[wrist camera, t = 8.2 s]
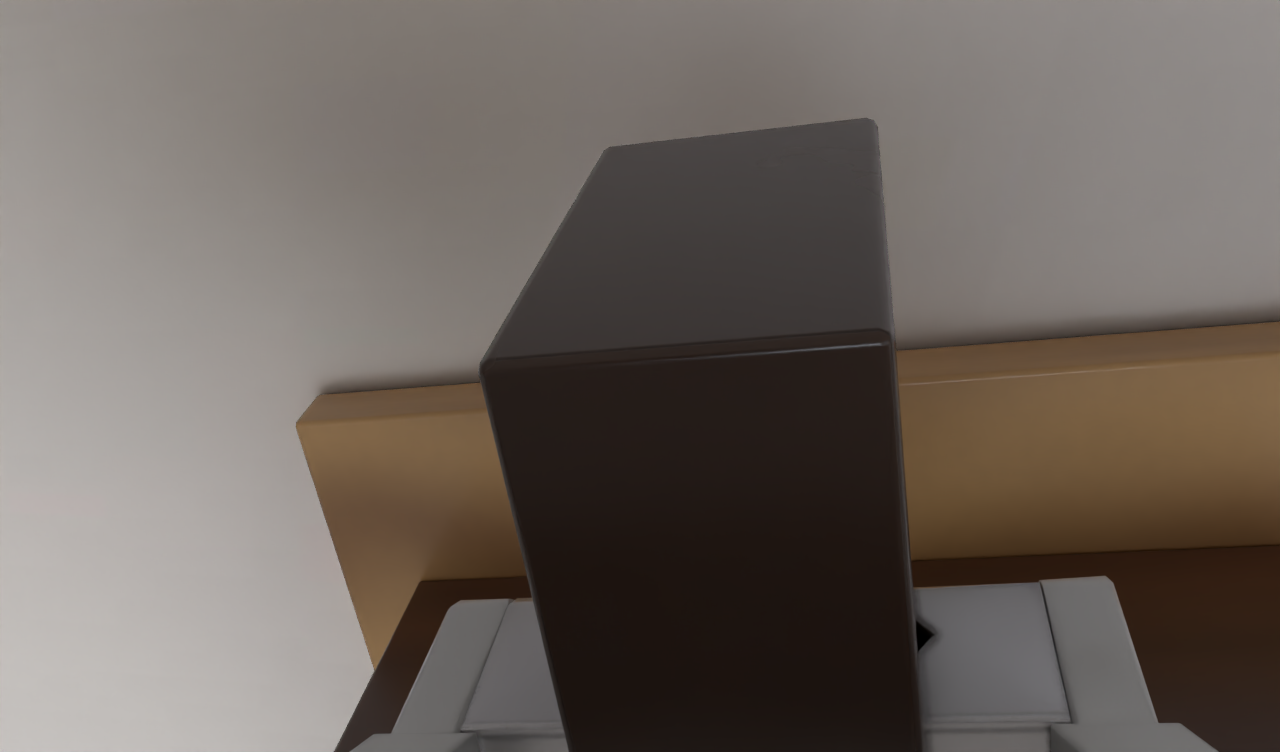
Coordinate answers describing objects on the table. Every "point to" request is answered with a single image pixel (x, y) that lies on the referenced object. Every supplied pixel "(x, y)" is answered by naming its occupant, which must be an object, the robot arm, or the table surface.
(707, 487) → the cake knife
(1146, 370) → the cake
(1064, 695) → the robot arm
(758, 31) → the table surface
